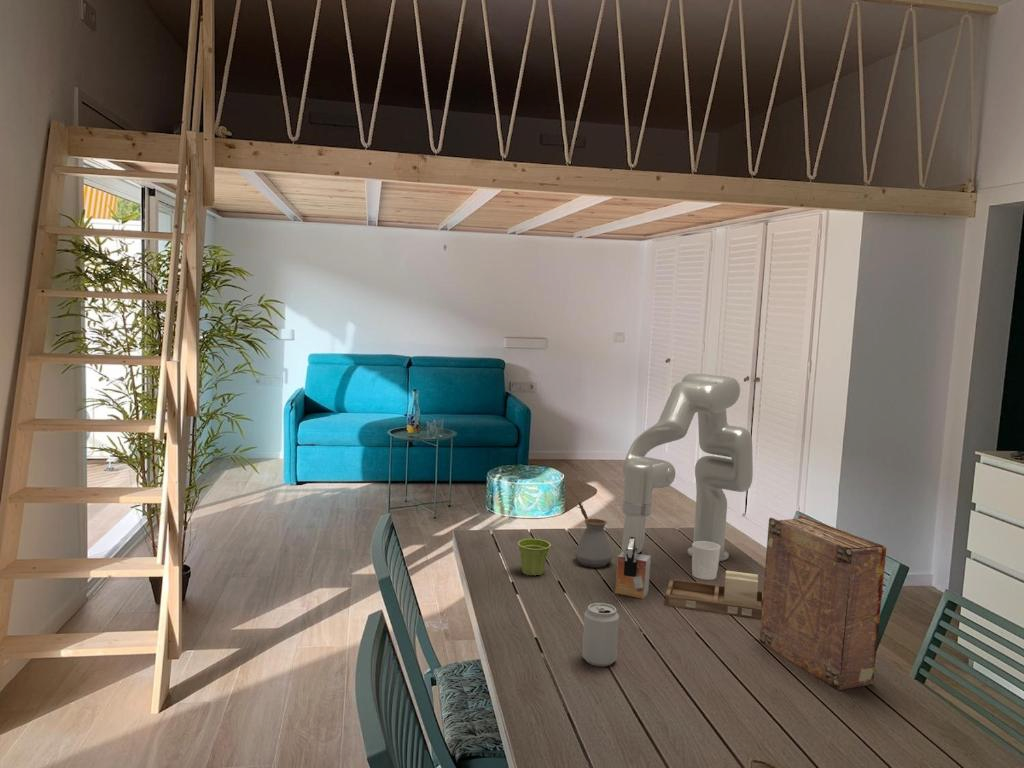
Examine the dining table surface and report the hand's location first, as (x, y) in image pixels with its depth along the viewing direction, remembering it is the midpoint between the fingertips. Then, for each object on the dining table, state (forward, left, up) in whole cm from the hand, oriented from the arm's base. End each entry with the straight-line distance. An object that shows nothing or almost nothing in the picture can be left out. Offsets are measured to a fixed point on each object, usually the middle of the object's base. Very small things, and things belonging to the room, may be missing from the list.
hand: (632, 570), depth 215 cm
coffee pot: (-25, -17, -7) cm, 31 cm away
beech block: (+1, +28, -5) cm, 29 cm away
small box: (0, 0, -7) cm, 7 cm away
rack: (+1, +22, -6) cm, 23 cm away
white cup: (-20, +18, -7) cm, 28 cm away
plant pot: (-5, -29, -7) cm, 30 cm away
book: (+27, +44, -7) cm, 52 cm away
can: (+44, -1, -7) cm, 44 cm away
